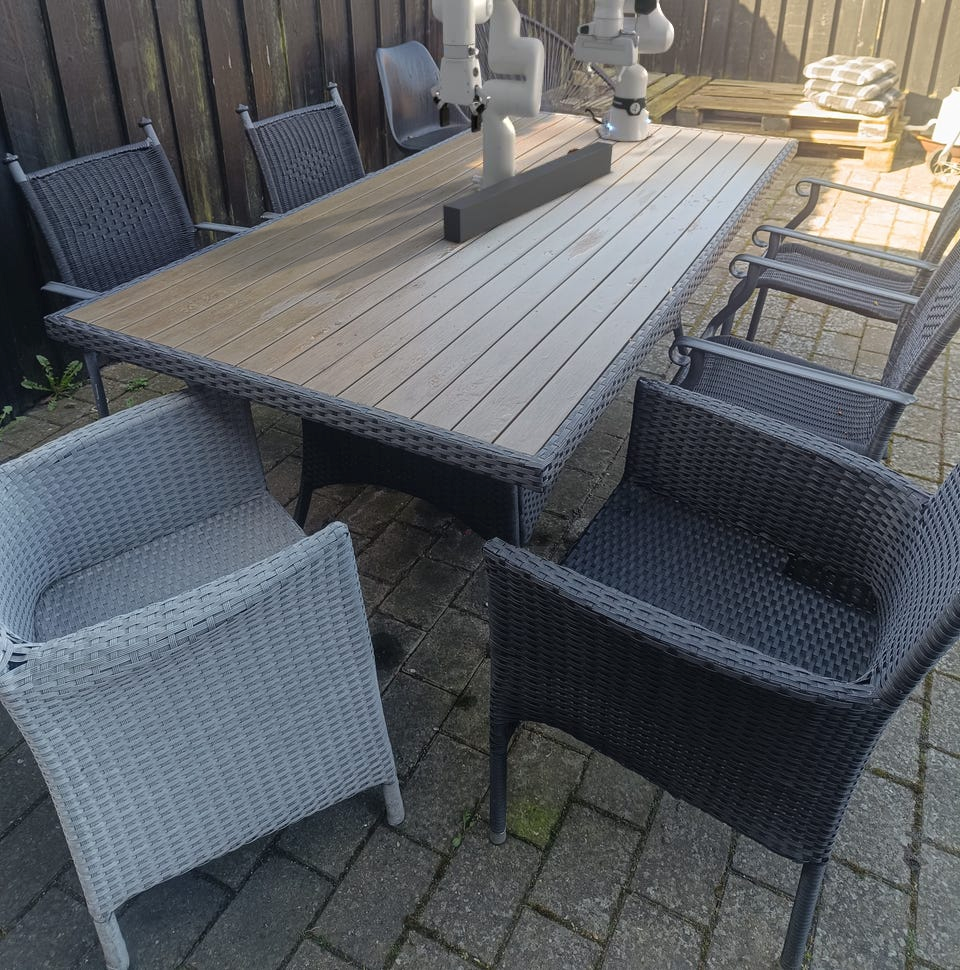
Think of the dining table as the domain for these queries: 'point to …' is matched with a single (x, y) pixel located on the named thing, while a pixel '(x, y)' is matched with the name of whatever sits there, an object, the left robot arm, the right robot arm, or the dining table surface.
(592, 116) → the right robot arm
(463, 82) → the left robot arm
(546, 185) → the beam
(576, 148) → the dark red rounded lump
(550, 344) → the dining table surface
